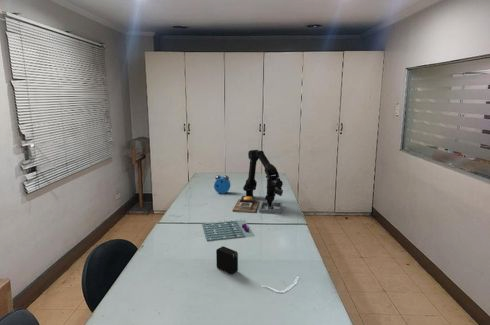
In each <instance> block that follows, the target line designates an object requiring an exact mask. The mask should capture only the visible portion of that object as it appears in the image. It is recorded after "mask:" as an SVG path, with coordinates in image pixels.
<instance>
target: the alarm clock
mask: <svg viewBox="0 0 490 325" xmlns="http://www.w3.org/2000/svg"><path fill="white" fill-rule="evenodd" d="M214 179H215V181H214V183H213V188H214V191H215V192H217V193H218V194H221V195H222V194H223V195H224V194H227V193H228V192H229V190H230V188H231V186H232V185H231V181H230V177H229V176H228V175H216V176H215V178H214Z"/></svg>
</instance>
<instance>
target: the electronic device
mask: <svg viewBox="0 0 490 325" xmlns="http://www.w3.org/2000/svg"><path fill="white" fill-rule="evenodd" d="M215 254H216V258H215V259H216V260H215V262H216V268H217V269H218V268H219V269H218V270H220V269H221V270H220V271H222V270H223V271H222V272H224V271H225V272H224V273H226V272H227V274H228V275H231V274H232V275H234V274H235V273H237V272H238V271H239V253H238V252H237V251H236V250H234V249H232V248H229V247H227V246H224V245H223V246H221V247H218V248H216V251H215Z"/></svg>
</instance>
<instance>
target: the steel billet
mask: <svg viewBox="0 0 490 325" xmlns="http://www.w3.org/2000/svg"><path fill="white" fill-rule="evenodd" d="M274 202H275V199H274V200H273V201H272V205H271V207H269V204H268V206H267V209H274V210H275V206H274Z"/></svg>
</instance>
